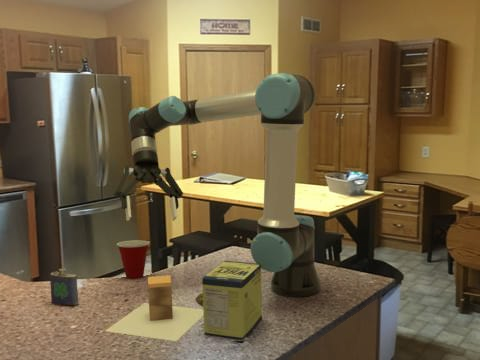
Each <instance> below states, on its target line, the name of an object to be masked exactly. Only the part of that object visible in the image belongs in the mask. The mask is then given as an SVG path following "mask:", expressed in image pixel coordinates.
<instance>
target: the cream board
mask: <svg viewBox="0 0 480 360" xmlns="http://www.w3.org/2000/svg"><path fill="white" fill-rule="evenodd" d="M172 310H173V319H165V320H154V321H150V312H149V302H143V303H142V304H141V305H139V306H138V307H136V309H133V310H132V311H131V312H129V313H128V314H126V315H125V316H124V317H123V318H121V319H119V321H117V322H116V323H114V324H112V325H111V326H110V327H108V328H106V330H104V332H108V333H115V334H120V335H122V334H123V335H130V336H136V337H143V338H151V339H155V340H163V341H172V342H177V341H178V340H179V339H181V337H182V336H183V335H184V334H185V333H187V332H188V331H189V330H190V329H192V328H193V326H194V325H195V324H196V323H198V321H199V320H200V319H202V318H203V317H204V312H203V309H200V308H194V307H193V308H191V307H183V306H175V305H172Z"/></svg>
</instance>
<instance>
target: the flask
mask: <svg viewBox="0 0 480 360" xmlns="http://www.w3.org/2000/svg"><path fill="white" fill-rule="evenodd" d="M66 270H67V269H66V268H59V269H58V271H53V272H51V273H50V274H49V279H50V280H49V281H50V297H51V301H50V303H51V304H52V305H57V306H64V307H67V306H68V307H77V306H78V305H79V295H78V294H79V293H78V292H79V291H78V290H79V289H78V276H77V274H74V273H73V274H71V273H69V274H68V273H66Z"/></svg>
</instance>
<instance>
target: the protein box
mask: <svg viewBox="0 0 480 360" xmlns="http://www.w3.org/2000/svg"><path fill="white" fill-rule="evenodd" d="M201 279H202V293H203V306H202V308H203V309H202V310H203V312H204V316H203V332H204V336H205V335H207V336H211V337H217V338H224V339H225V338H226V339H232V340H233V339H234V340H235V341H233V343H237V344H244V342H246V340H245V338H249V336H250V335H251V333H253V331H254V330H255V329H256V328H257V327H258V325H259V324H260V323H261V322H262V321H263V304H262V303H263V302H262V301H263V299H262V298H263V297H262V296H263V295H262V293H263V291H262V268H261V264H257V263H256V262H244V261H243V262H242V261H233V260H223V262H222V263H220V264H219V265H218V266H216V267H215V268H214V269H212V270H210V272H208V273H206V274H205V275H204V276H203V277H201Z"/></svg>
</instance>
